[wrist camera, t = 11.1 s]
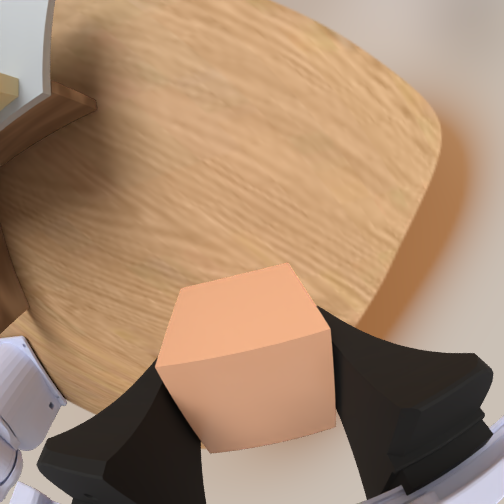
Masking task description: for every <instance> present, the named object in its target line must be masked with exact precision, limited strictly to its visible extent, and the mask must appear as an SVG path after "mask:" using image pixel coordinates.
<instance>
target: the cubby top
mask: <svg viewBox="0 0 504 504" xmlns="http://www.w3.org/2000/svg"><path fill="white" fill-rule="evenodd" d="M54 5H55V0H0V131H1V130H3V129H4V128H5V127H6V126H8V125H9V124H10V123H12V122H13V121H14V120H15V119H17V118H18V117H20V116H21V115H22V114H24V113H25V112H27V111H28V110H29V109H31V108H32V107H34V106H35V105H37V104H38V103H40V102H41V101H43V100H45V99H46V98H48V97H49V96H51V85H50V49H51V32H52V21H53V12H54Z"/></svg>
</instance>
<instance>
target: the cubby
mask: <svg viewBox="0 0 504 504" xmlns="http://www.w3.org/2000/svg"><path fill="white" fill-rule="evenodd" d="M50 85H51V96H49V97H48V98H46V99H45V100H43V101H41V102H40V103H38V104H37V105H35V106H34V107H32V108H31V109H29V110H28V111H27V112H25V113H24V114H22V115H21V116H20V117H18V118H17V119H15V120H14V121H13V122H12V123H10V124H9V125H8V126H6V127H5V128H4V129H3V130H1V131H0V167H1V166H2V165H4V164H5V163H6V162H8V161H9V160H10V159H12V158H13V157H15V156H16V155H18V154H19V153H21V152H22V151H24V150H25V149H27V148H28V147H30V146H31V145H33V144H34V143H36V142H38V141H39V140H41V139H43V138H44V137H46V136H48V135H49V134H51V133H53V132H55V131H56V130H58V129H60V128H62V127H64V126H65V125H67V124H69V123H71V122H73V121H75V120H77V119H79V118H81V117H83V116H85V115H87V114H89V113H91V112H93V111H96V110H97V105H96V100H95V99H92V98H90V97H88V96H86V95H84V94H82V93H80V92H77V91H75V90H73V89H71V88H69V87H66V86H64V85H62V84H60V83H57V82H55V81H53V80H50ZM28 308H29V305H28V302H27V300H26V298H25V295H24V293H23V291H22V288H21V286H20V283H19V281H18V278H17V276H16V273H15V270H14V267H13V265H12V262H11V259H10V256H9V253H8V250H7V246H6V243H5V240H4V236H3V233H2V229H1V225H0V334H1V333H2V332H3V331H4V330H5V329H6V328H7V327H8V326H9V325H10V324H11V323H12V322H13V321H15V320H16V319H17V318H18V317H19V316H20V315H21V314H22V313H23V312H24V311H26V310H27V309H28Z"/></svg>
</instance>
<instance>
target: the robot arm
mask: <svg viewBox="0 0 504 504" xmlns="http://www.w3.org/2000/svg"><path fill="white" fill-rule="evenodd" d="M316 307H317V308H318V310H319V311H320V313H321V314H322V316H323V318H324V319H325V321H326V322H327V324H328V326H329V327H330V329H331V340H332V353H333V367H334V384H335V408H336V409H337V412H338V414H339V416H340V419H341V421H342V424H343V427H344V429H345V432H346V434H347V437H348V440H349V443H350V446H351V449H352V451H353V455H354V458H355V461H356V464H357V467H358V470H359V473H360V477H361V480H362V484H363V487H364V491H365V494H366V498H367V500H366V501H363V502H361V503H358V504H497V503H498V502H499V501H500V500H501V499H502V498H503V497H504V415H503V416H502V417H501V418H500V419H499V420H498V421H497V422H496V423H494V424H493V425H492V426H491V427H490V428H488V426H487V425H486V424H485V423H484V422H483V420H482V419H483V418H484V416H485V413H484V412H483V411H482V410H481V409H480V406H481V404H482V403H483V401H484V399H485V397H486V395H487V393H488V391H489V389H490V386H491V383H492V379H493V371H492V369H491V368H490V367H489V366H488V365H487V364H486V363H485V362H484V361H482V360H481V359H480V358H479V357H478V356H477V355H476V354H475V353H441V352H431V351H424V350H418V349H414V348H409V347H405V346H401V345H397V344H393V343H391V342H388V341H385V340H382V339H379V338H376V337H374V336H371V335H369V334H367V333H365V332H362V331H360V330H358V329H356V328H354V327H352V326H351V325H349V324H347V323H345V322H343V321H342V320H340V319H338V318H337V317H335V316H333V315H332V314H330V313H329V312H327V311H325V310H324V309H322V308H320V307H319V306H316ZM157 359H158V357H157ZM157 359H156V360H155V361H154V362H153V363H152V365H151V366H150V367H149V368H148V369H147V370H146V371H145V373H144V374H143V375H142V376H141V377H140V378H139V379H138V380H137V381H136V382H135V383H134V384H133V385H132V386H131V387H130V388H129V389H128V390H127V391H126V392H125V393H124V394H123V395H122V396H120V397H119V398H118V399H117V400H116V401H115V402H113V403H112V404H111V405H109V406H108V407H107V408H105V409H104V410H102V411H101V412H100V413H98V414H97V415H95V416H94V417H92V418H91V419H89V420H87V421H86V422H84V423H82V424H80V425H78V426H76V427H74V428H73V429H70V430H68V431H66V432H63V433H61V434H59V435H56V436H54V437H51V438H48V439H47V441H46V444H45V446H44V448H43V450H42V453H41V455H40V458H39V460H38V462H37V467H38V469H39V471H40V472H41V473H42V474H43V475H44V476H45V477H46V478H47V479H48V480H49V481H51V482H52V483H53V484H54V485H56V486H57V487H58V488H60V489H61V490H63V491H64V492H65V493H67V494H68V495H70V496H71V497H73V500H72V504H206V499H205V492H204V485H203V476H202V464H201V440H200V439H199V437H198V436H197V435H196V433H195V432H194V430H193V429H192V427H191V426H190V424H189V423H188V421H187V420H186V418H185V417H184V415H183V414H182V412H181V411H180V409H179V407H178V406H177V404H176V403H175V401H174V399H173V398H172V396H171V394H170V393H169V391H168V389H167V388H166V386H165V384H164V382H163V381H162V379H161V377H160V375H159V374H158V372H157V370H156V368H155V365H156V362H157ZM66 404H67V402H66V400H65V399H64V397H63V396H62V395H61V393H60V392H59V391H58V389H57V388H56V386H55V385H54V384H53V382H52V381H51V379H50V378H49V376H48V375H47V373H46V372H45V370H44V369H43V367H42V365H41V364H40V362H39V361H38V359H37V357H36V356H35V354H34V352H33V351H32V349H31V347H30V345H29V344H28V342H27V340H26V338H25V337H23V336H16V337H7V338H0V502H2V501H3V499H5V497H6V495H7V493H8V491H9V490H10V489H11V487H13V486H14V485H15V484H16V482H17V481H18V479H19V477H20V475H21V472H22V468H23V459H22V454H21V451H20V450H23V451H29V450H33V449H35V448H36V447H37V446H39V445H40V444H41V443H42V441H43V440H44V438H45V436H46V434H47V432H48V430H49V428H50V426H51V424H52V422H53V420H54V418H55V417H56V415H57V413H58V411H59V409H60V407H61V405H63V406H65V405H66ZM18 448H19V449H20V450H19V449H18ZM9 504H60V503H57V502H55V501H52V500H50V498H48V497H47V496H46V495H44V494H43V493H41V492H40V491H38V490H37V489H35V488H32V487H31V486H29V485H26V484H24V483H22V482H20V481H18V482H17V484H16V487H15V490H14V492H13V495H12V497H11V500H10V503H9Z"/></svg>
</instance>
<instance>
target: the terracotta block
mask: <svg viewBox="0 0 504 504" xmlns="http://www.w3.org/2000/svg"><path fill="white" fill-rule="evenodd" d="M155 368H156V370H157V372H158V374H159V375H160V377H161V379H162V381H163V382H164V384H165V386H166V388H167V389H168V391H169V393H170V394H171V396H172V398H173V399H174V401H175V403H176V404H177V406H178V407H179V409H180V411H181V412H182V414H183V415H184V417H185V418H186V420H187V421H188V423H189V424H190V426H191V427H192V429H193V430H194V432H195V433H196V435H197V436H198V437H199V439H200V440H201V442H202V443H203V444H204V446H205V447H206V449H207V450H208V451H209V453H220V452H228V451H236V450H242V449H248V448H255V447H260V446H265V445H270V444H275V443H280V442H284V441H288V440H292V439H296V438H300V437H304V436H307V435H311V434H315V433H318V432H322V431H325V430H328V429H331V428H334V427H336V411H335V410H336V408H335V384H334V367H333V353H332V340H331V329H330V327H329V326H328V324H327V322H326V321H325V319H324V318H323V316H322V314H321V313H320V311H319V310H318V308H317V307H316V305H315V303H314V302H313V300H312V299H311V297H310V296H309V294H308V292H307V291H306V289H305V288H304V286H303V285H302V283H301V282H300V280H299V278H298V277H297V275H296V274H295V272H294V271H293V269H292V268H291V266H290V265H289V263H288V262H287V263H283V264H280V265H276V266H271V267H267V268H263V269H259V270H255V271H251V272H247V273H243V274H239V275H235V276H231V277H226V278H222V279H218V280H214V281H210V282H205V283H201V284H197V285H193V286H188V287H184V288H181V290H180V292H179V295H178V298H177V301H176V304H175V307H174V310H173V313H172V316H171V319H170V322H169V325H168V328H167V331H166V334H165V337H164V340H163V343H162V346H161V349H160V352H159V356H158V359H157V362H156V365H155Z"/></svg>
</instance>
